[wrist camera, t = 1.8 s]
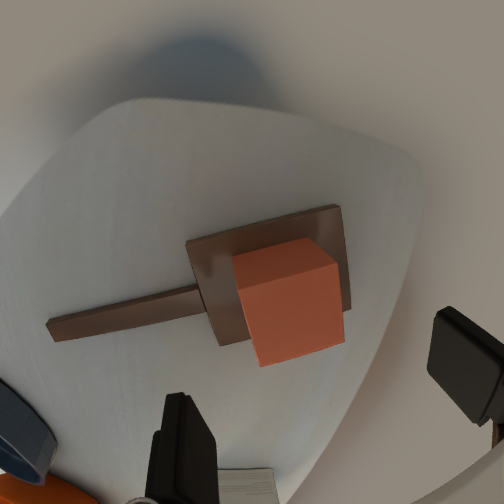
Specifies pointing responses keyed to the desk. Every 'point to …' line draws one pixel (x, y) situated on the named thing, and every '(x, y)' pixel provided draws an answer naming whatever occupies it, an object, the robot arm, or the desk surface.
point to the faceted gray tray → (24, 441)
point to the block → (290, 300)
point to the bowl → (41, 492)
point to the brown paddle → (215, 279)
